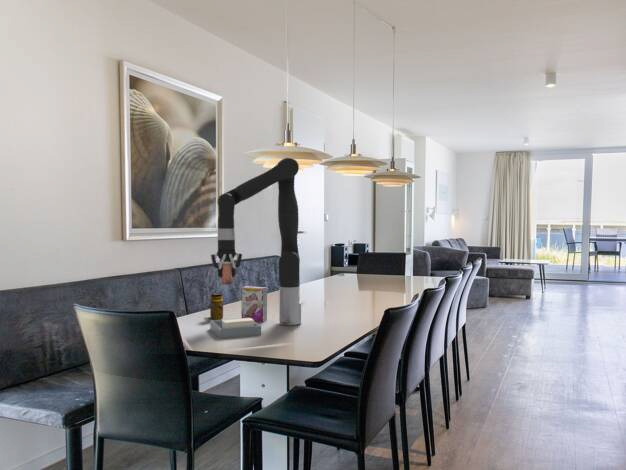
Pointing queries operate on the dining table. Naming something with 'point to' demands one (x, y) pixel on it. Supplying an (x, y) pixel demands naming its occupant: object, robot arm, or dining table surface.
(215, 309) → the condiment
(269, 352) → the dining table surface
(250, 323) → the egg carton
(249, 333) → the tote
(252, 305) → the candy bar box
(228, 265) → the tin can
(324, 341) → the dining table surface
